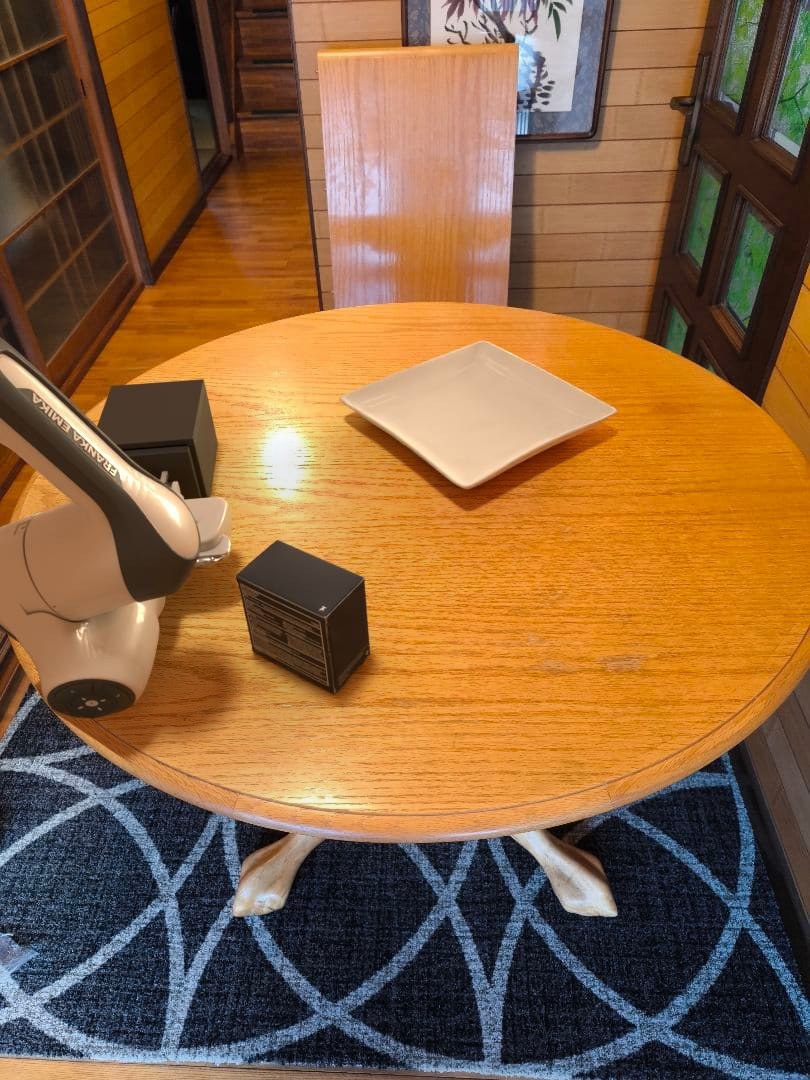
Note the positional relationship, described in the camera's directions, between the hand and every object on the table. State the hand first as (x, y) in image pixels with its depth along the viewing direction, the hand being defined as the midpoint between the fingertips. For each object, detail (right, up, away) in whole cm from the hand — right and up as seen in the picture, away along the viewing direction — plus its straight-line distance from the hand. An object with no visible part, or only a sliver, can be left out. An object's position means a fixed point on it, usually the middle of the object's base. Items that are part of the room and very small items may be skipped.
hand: (143, 488), depth 86 cm
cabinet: (-1, +3, +12) cm, 12 cm away
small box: (+20, -17, -11) cm, 28 cm away
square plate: (+39, +10, +19) cm, 45 cm away
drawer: (-1, +1, +8) cm, 8 cm away
